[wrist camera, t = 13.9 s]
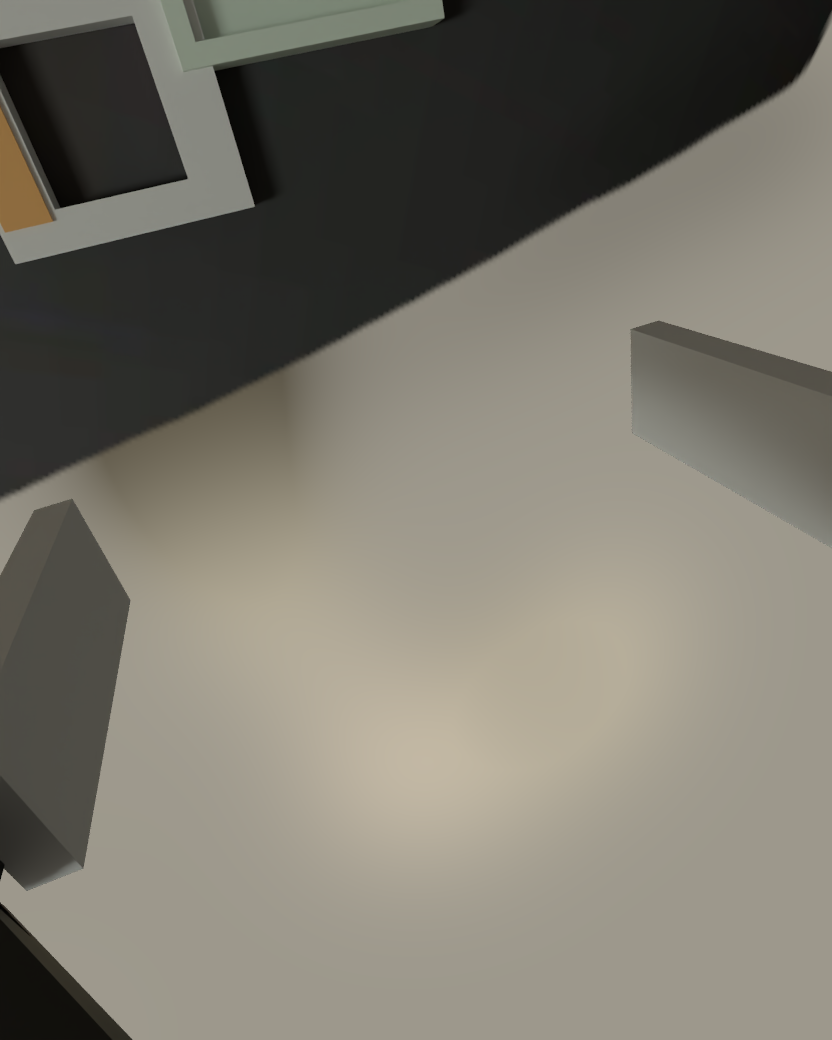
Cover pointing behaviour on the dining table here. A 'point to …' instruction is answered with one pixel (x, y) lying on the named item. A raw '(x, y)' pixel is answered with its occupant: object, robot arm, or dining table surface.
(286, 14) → the tray
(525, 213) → the dining table surface
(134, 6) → the holder frame
